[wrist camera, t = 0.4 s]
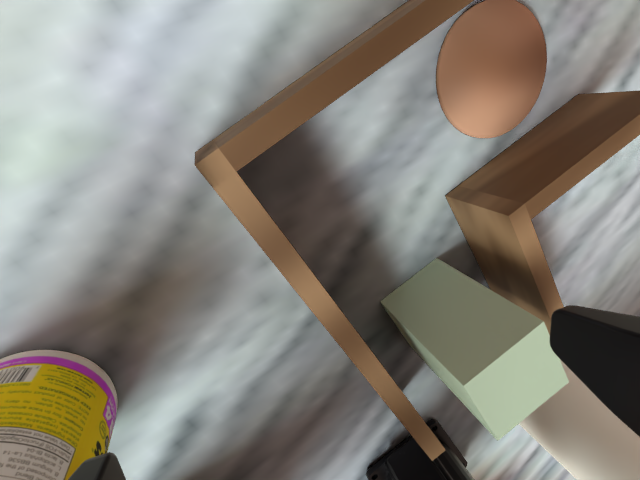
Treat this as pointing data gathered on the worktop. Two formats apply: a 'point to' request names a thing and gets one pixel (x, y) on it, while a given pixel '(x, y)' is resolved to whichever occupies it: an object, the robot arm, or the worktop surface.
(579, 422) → the cylindrical container
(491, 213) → the channel
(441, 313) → the block
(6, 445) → the supplement bottle
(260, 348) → the worktop surface
